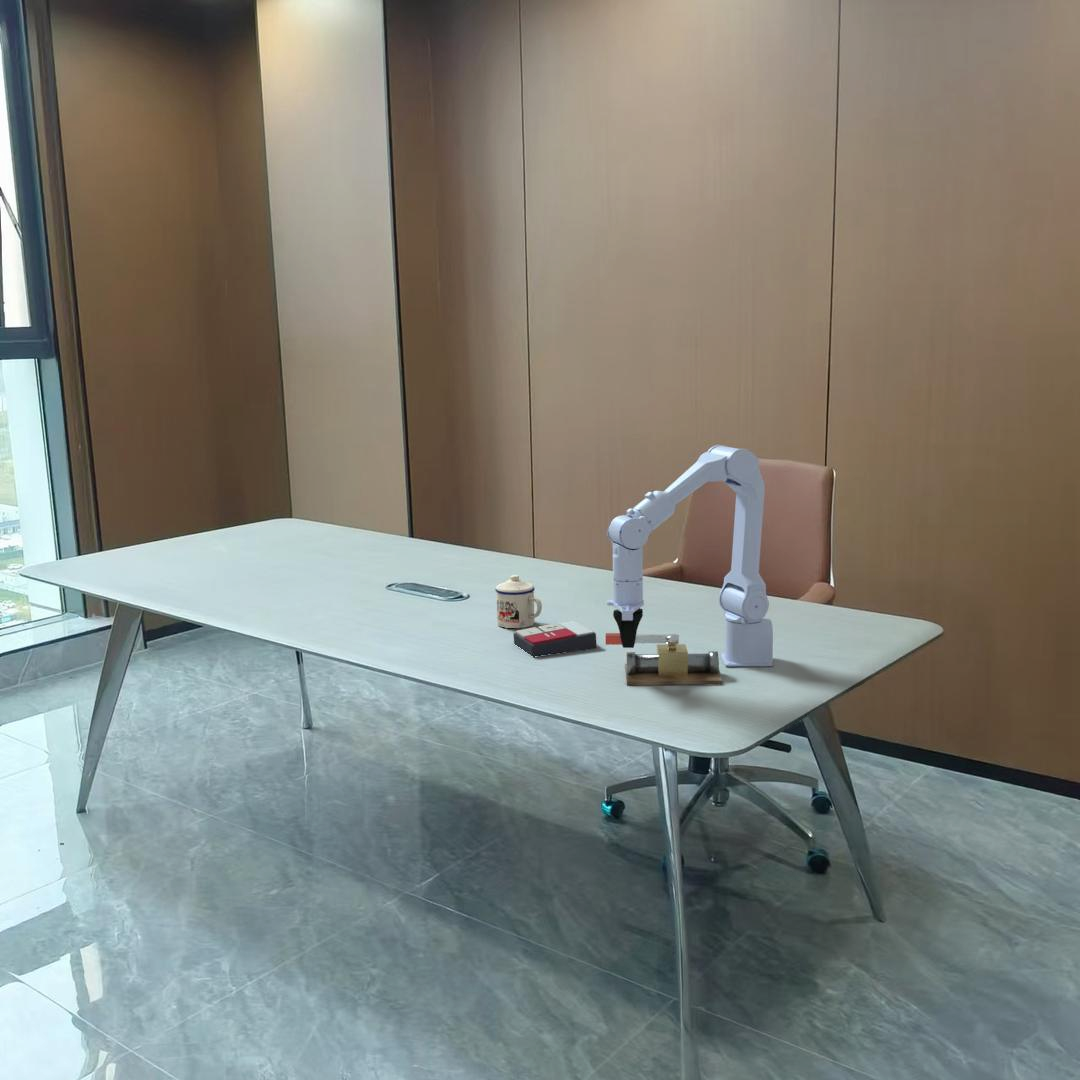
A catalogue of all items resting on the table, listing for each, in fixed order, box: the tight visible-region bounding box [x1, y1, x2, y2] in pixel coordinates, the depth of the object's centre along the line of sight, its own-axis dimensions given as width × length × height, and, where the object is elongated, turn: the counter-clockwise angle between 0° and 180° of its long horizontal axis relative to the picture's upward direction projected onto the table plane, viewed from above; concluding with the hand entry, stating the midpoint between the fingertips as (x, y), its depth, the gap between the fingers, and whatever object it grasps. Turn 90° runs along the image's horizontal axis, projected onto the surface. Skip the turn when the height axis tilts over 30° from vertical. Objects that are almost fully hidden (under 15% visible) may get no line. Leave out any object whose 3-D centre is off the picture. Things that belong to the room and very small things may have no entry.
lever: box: [605, 632, 680, 646], centre depth 208 cm, size 3×14×2 cm, turn 85°
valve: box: [626, 643, 720, 676], centre depth 209 cm, size 18×5×6 cm, turn 87°
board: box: [624, 663, 723, 686], centre depth 209 cm, size 18×11×1 cm, turn 88°
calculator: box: [513, 620, 598, 658], centre depth 231 cm, size 11×4×15 cm
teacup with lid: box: [495, 574, 543, 629], centre depth 247 cm, size 12×9×12 cm
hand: (628, 647), depth 207 cm, fingers closed
